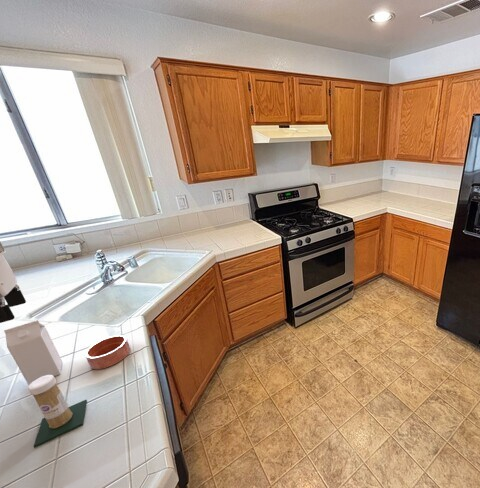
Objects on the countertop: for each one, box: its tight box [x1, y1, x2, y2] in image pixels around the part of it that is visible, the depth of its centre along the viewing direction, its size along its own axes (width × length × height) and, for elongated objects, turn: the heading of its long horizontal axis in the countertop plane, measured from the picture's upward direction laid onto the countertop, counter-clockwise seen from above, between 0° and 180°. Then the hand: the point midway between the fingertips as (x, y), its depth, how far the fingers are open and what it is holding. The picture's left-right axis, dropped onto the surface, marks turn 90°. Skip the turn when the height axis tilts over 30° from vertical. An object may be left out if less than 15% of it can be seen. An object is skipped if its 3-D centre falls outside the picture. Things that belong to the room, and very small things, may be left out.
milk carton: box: [3, 319, 63, 386], centre depth 82 cm, size 7×7×19 cm
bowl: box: [84, 334, 131, 370], centre depth 90 cm, size 11×11×5 cm
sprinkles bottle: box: [27, 375, 73, 428], centre depth 66 cm, size 5×5×14 cm
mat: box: [33, 399, 88, 449], centre depth 69 cm, size 9×9×1 cm
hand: (12, 312), depth 68 cm, fingers open, 9 cm apart
